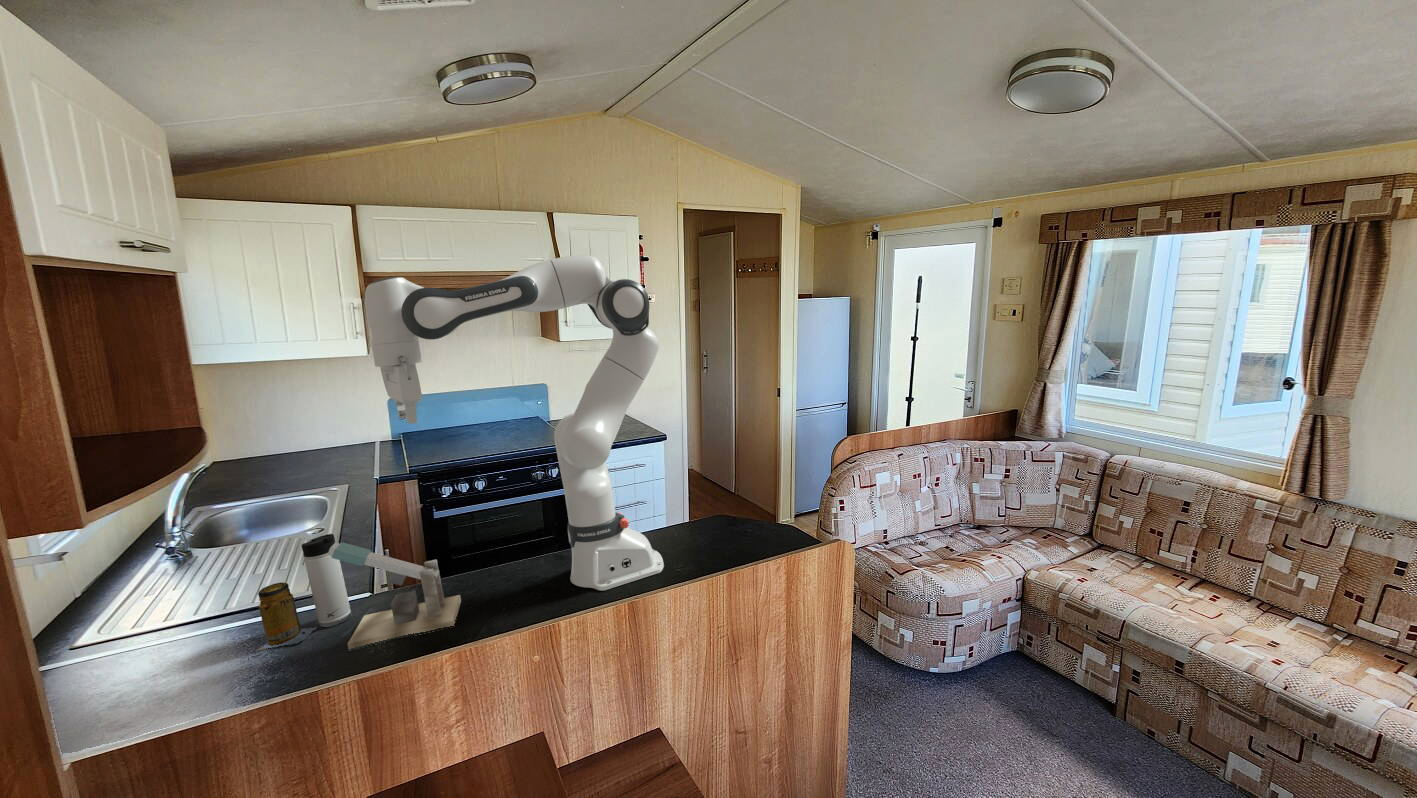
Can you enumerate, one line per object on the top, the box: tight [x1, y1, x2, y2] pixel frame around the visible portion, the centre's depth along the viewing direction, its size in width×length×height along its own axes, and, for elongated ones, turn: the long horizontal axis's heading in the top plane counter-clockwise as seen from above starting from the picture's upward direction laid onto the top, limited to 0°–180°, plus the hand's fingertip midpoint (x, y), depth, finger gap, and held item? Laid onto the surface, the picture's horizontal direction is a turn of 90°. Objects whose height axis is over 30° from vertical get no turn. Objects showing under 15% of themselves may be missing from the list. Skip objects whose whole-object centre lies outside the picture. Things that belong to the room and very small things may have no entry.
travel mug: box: [301, 533, 352, 625], centre depth 131 cm, size 6×7×20 cm
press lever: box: [328, 541, 440, 587], centre depth 125 cm, size 22×4×4 cm, turn 106°
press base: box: [347, 559, 462, 650], centre depth 126 cm, size 20×12×12 cm, turn 106°
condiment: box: [257, 581, 302, 651], centre depth 126 cm, size 7×8×12 cm
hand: (408, 420), depth 125 cm, fingers open, 8 cm apart
